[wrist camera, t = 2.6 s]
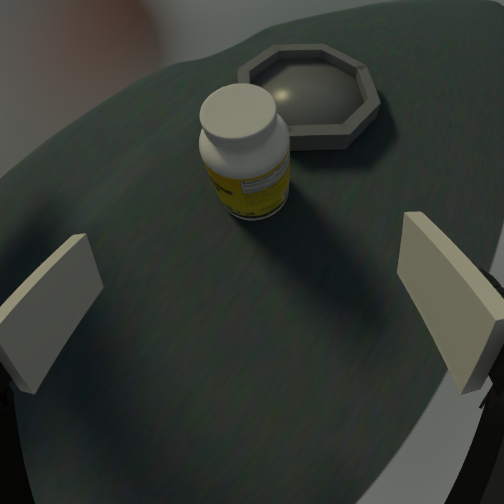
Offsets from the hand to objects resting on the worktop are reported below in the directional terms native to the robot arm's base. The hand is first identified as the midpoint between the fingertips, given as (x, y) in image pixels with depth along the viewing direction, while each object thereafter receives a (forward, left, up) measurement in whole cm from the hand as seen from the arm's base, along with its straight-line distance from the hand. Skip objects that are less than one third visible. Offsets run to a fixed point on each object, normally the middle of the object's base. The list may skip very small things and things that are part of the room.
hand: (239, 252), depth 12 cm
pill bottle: (0, +10, -14) cm, 17 cm away
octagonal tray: (+6, +21, -14) cm, 26 cm away
